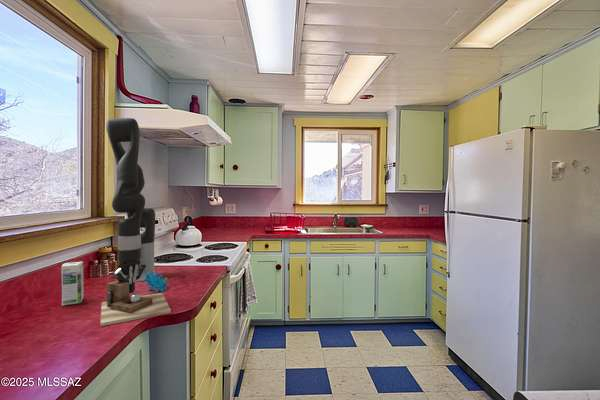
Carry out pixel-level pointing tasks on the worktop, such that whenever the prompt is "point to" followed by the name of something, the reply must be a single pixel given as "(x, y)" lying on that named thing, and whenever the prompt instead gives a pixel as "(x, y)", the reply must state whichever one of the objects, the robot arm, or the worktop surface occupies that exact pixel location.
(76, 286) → the syrup box
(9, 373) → the worktop surface
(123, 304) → the wooden display stand
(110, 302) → the stop pin
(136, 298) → the post
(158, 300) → the board
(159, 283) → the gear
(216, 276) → the worktop surface
